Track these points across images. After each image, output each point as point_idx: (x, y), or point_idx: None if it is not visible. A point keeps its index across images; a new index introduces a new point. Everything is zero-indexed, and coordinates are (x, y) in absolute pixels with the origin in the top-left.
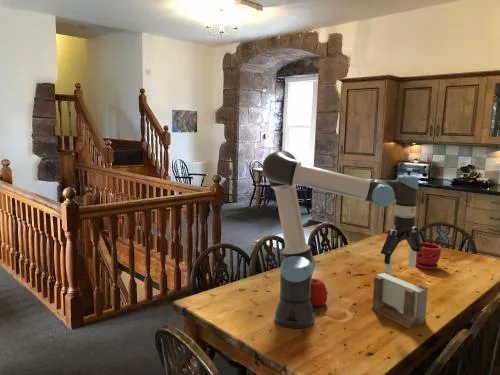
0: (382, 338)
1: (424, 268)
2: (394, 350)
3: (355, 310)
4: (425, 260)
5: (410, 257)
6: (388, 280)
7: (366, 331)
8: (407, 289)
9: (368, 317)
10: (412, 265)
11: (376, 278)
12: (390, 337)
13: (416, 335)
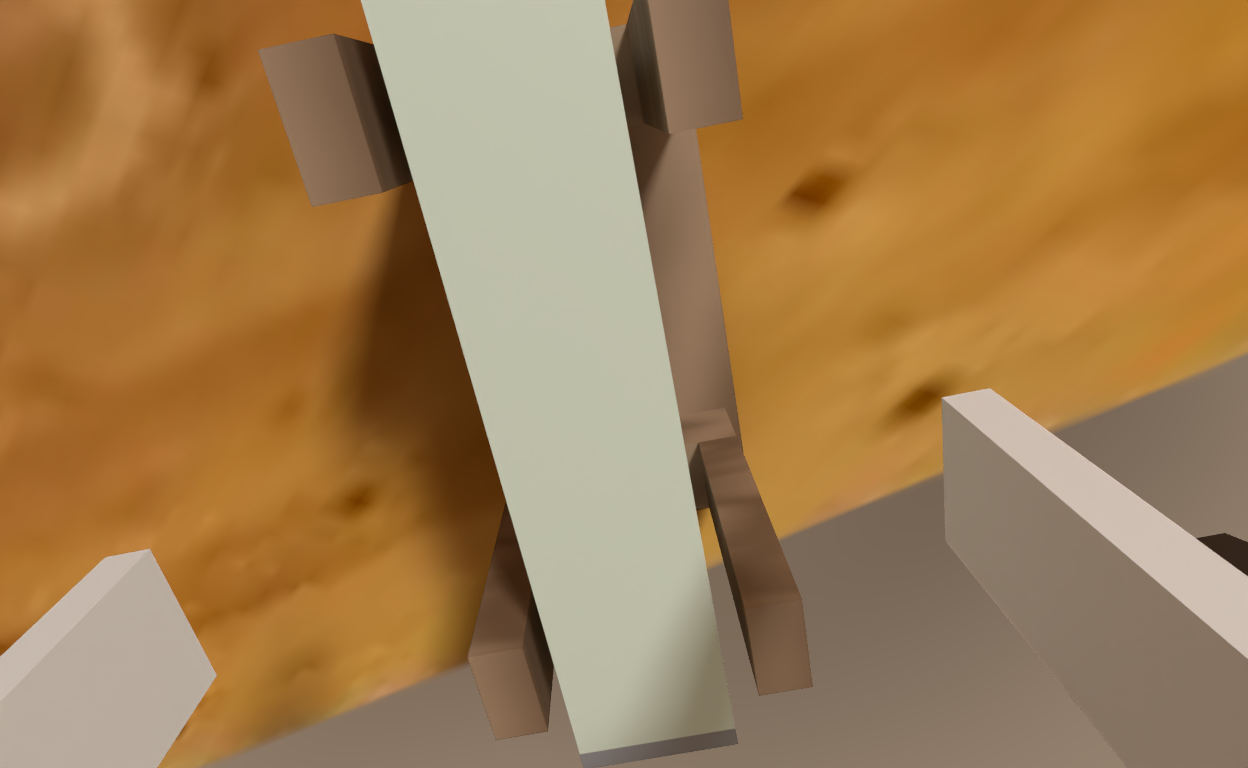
0: (240, 556)
1: None
2: (248, 685)
3: (222, 41)
4: None
5: (1090, 578)
6: (446, 290)
7: (159, 442)
8: (496, 670)
9: (291, 231)
10: (967, 525)
11: (289, 108)
12: (308, 559)
13: None
